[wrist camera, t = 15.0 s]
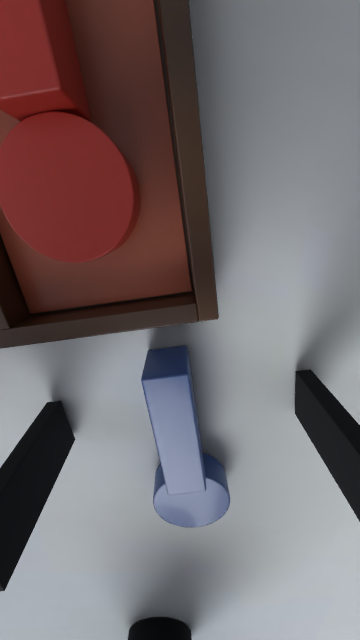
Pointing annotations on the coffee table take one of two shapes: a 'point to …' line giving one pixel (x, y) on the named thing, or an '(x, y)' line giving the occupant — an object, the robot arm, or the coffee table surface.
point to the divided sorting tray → (153, 180)
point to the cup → (159, 630)
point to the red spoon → (57, 143)
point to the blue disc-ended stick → (181, 444)
